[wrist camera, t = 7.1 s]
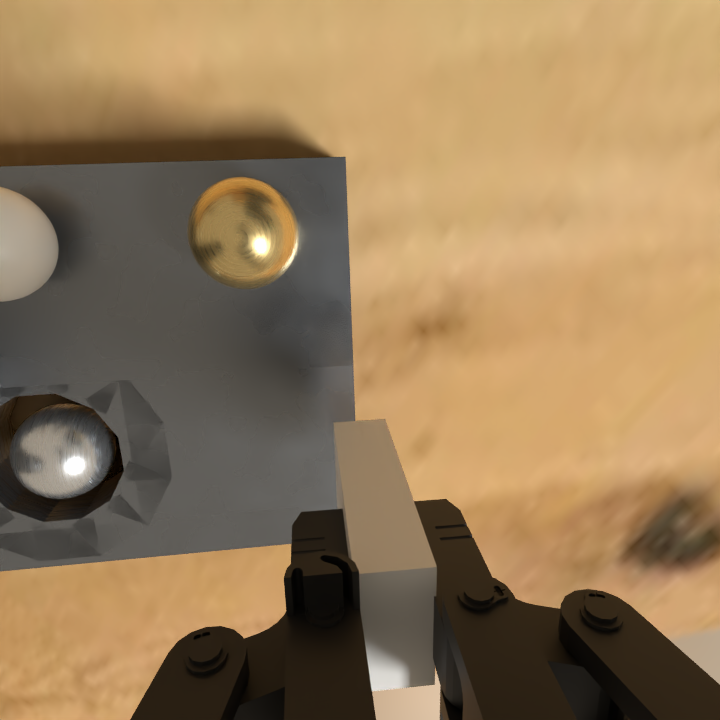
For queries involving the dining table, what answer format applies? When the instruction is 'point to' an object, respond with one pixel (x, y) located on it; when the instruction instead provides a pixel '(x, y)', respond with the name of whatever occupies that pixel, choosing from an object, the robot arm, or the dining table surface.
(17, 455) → the steel ball
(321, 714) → the robot arm
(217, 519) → the plate
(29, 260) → the white plastic ball
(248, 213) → the brass ball
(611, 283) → the dining table surface
